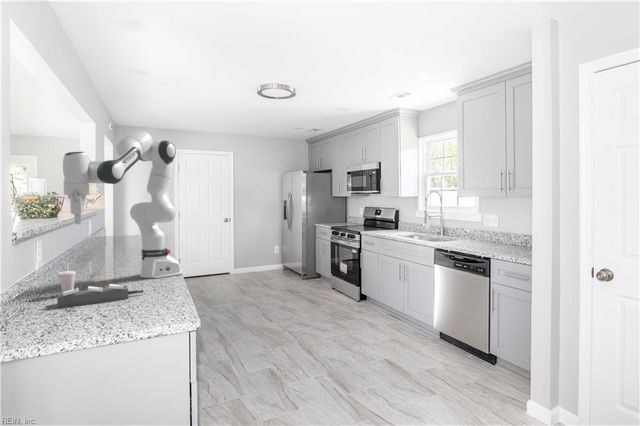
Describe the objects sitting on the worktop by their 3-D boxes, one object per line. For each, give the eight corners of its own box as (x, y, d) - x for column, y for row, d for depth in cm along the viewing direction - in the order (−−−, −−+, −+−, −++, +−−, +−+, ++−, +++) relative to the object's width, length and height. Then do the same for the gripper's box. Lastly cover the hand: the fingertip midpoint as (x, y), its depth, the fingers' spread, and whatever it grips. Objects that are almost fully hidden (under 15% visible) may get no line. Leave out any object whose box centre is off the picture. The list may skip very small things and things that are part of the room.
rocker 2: (101, 290, 151) (102, 287, 151) (101, 291, 148) (102, 289, 148) (87, 288, 148) (88, 285, 148) (87, 290, 146) (88, 287, 146)
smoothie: (67, 296, 155) (66, 264, 154) (55, 296, 157) (53, 263, 156) (80, 292, 162) (79, 261, 161) (68, 292, 163) (66, 260, 162)
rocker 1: (78, 289, 147) (78, 287, 147) (78, 291, 144) (77, 289, 144) (64, 294, 144) (63, 291, 144) (63, 296, 142) (62, 293, 141)
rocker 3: (122, 287, 155) (122, 284, 155) (122, 289, 152) (123, 286, 152) (108, 286, 152) (109, 283, 152) (108, 288, 149) (109, 285, 149)
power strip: (142, 292, 162) (142, 283, 162) (144, 296, 156) (143, 286, 156) (59, 303, 146) (59, 292, 146) (57, 307, 140) (57, 297, 140)
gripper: (84, 190, 144) (86, 225, 145) (86, 190, 162) (87, 222, 162) (65, 190, 141) (66, 226, 142) (69, 190, 158) (70, 222, 159)
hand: (78, 224), depth 152 cm, fingers closed
